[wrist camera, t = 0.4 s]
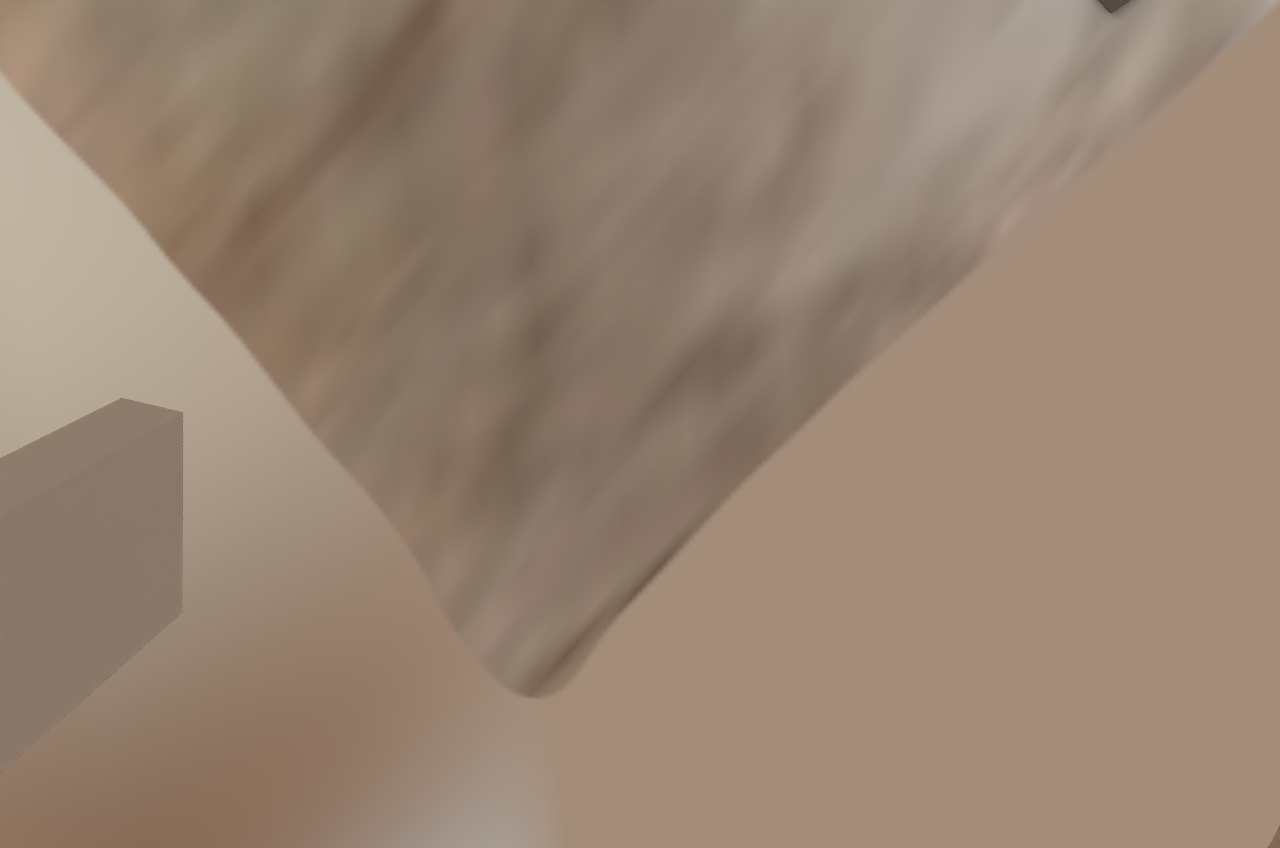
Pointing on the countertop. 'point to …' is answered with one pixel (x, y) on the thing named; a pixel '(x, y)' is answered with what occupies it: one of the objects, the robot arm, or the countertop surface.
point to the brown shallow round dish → (1113, 4)
